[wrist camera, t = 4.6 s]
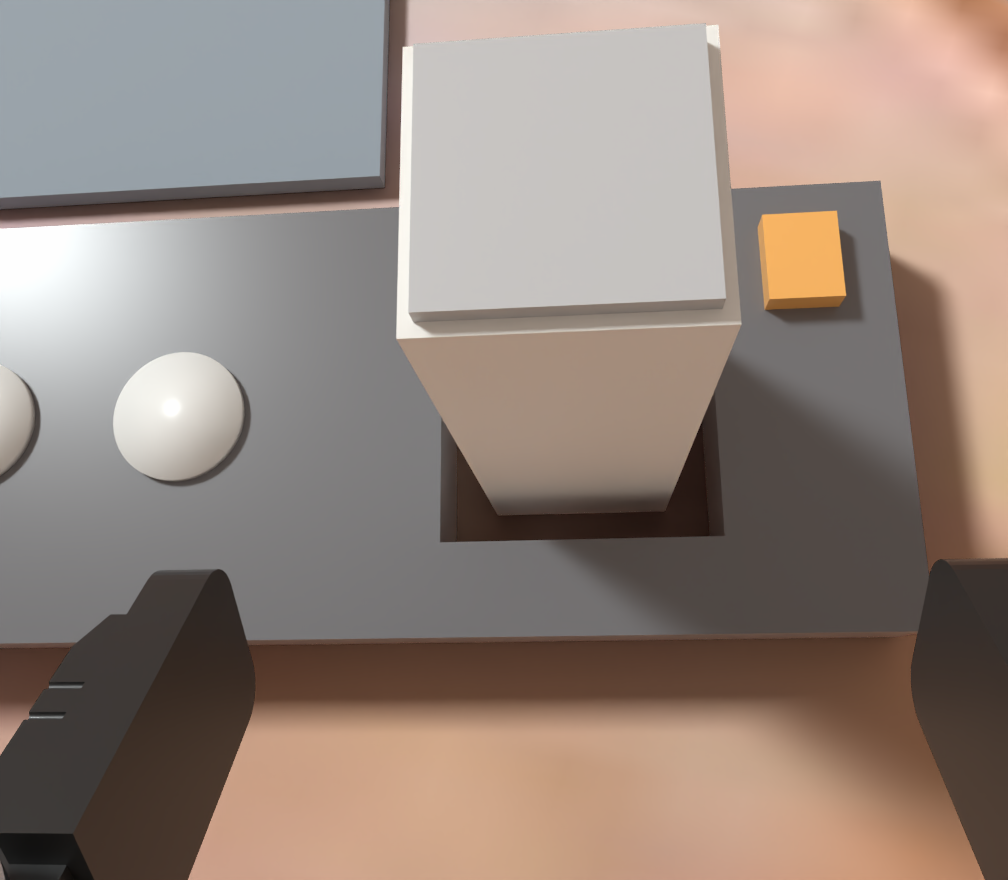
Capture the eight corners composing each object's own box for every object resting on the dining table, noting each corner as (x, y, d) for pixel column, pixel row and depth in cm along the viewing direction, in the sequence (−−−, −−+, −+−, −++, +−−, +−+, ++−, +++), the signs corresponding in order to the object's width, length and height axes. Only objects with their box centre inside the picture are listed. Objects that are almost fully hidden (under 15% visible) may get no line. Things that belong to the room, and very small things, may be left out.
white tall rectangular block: (498, 515, 23) (390, 329, 11) (496, 358, 24) (398, 31, 12) (665, 511, 22) (745, 313, 10) (656, 352, 23) (721, 7, 11)
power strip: (-238, 651, 23) (-360, 647, 20) (-169, 283, 26) (-269, 231, 23) (896, 636, 21) (946, 629, 18) (850, 232, 23) (888, 167, 21)
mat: (-37, 211, 26) (-51, 200, 26) (16, -136, 29) (4, -153, 29) (384, 187, 25) (379, 175, 24) (393, -171, 28) (390, -188, 28)
